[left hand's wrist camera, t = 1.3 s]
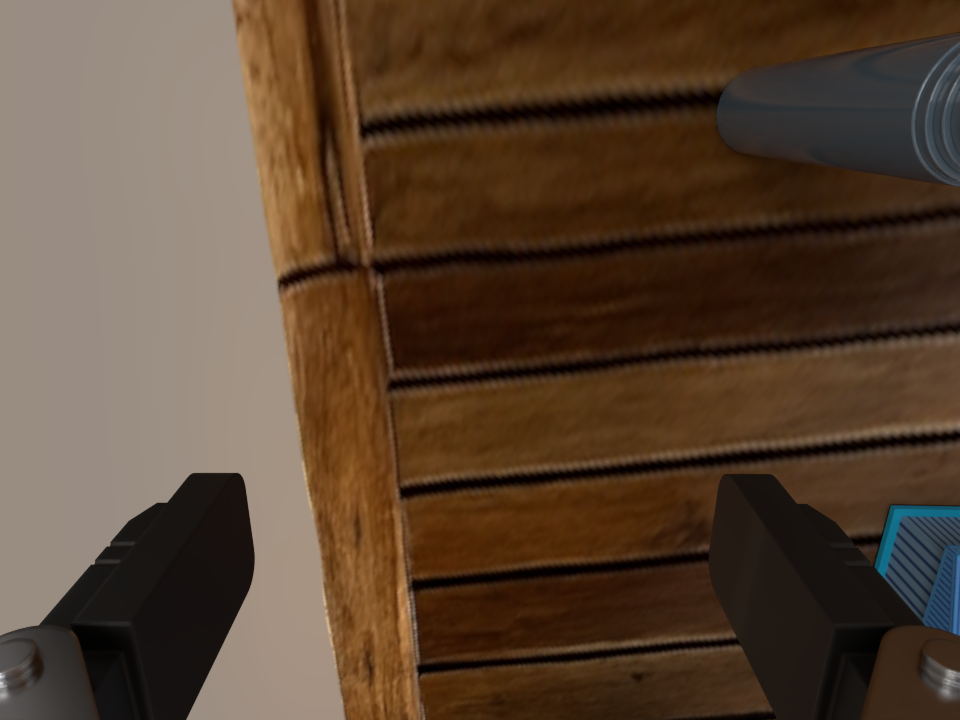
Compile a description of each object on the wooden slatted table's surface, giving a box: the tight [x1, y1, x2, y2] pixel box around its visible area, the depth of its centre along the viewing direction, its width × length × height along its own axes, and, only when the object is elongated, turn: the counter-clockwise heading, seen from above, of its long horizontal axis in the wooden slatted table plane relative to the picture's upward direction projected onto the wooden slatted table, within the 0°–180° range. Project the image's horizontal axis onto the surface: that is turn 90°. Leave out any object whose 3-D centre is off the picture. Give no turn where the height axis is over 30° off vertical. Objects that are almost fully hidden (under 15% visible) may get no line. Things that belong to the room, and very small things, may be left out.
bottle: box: [716, 32, 960, 187], centre depth 29 cm, size 5×5×24 cm
